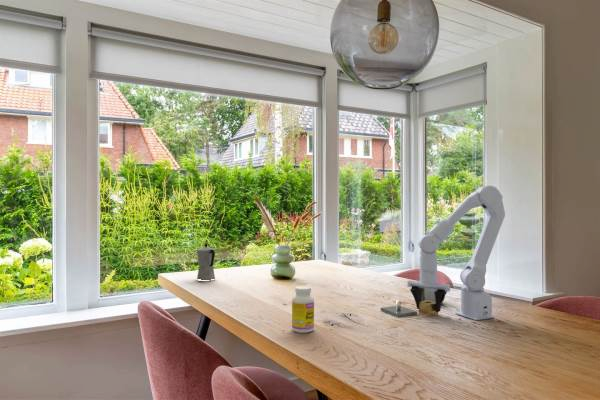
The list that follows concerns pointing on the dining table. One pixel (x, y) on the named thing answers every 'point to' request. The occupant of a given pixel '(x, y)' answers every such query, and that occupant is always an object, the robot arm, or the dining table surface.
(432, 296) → the ceramic mug
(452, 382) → the dining table surface
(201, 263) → the coffeepot
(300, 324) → the supplement bottle
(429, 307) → the wooden block with hole
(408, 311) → the flat gray rectangular block
